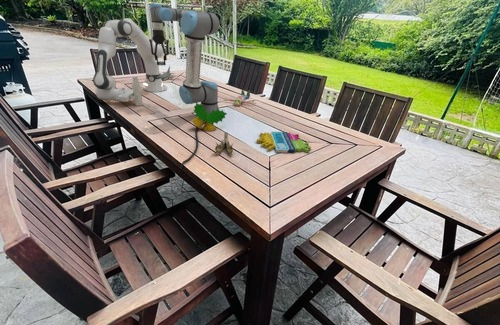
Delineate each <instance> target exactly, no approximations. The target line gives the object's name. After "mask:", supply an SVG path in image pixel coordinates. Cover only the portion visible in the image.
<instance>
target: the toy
mask: <svg viewBox="0 0 500 325" xmlns="http://www.w3.org/2000/svg"><path fill="white" fill-rule="evenodd" d="M240 92H241V93H240V95H238V96H237V97H235V99H233V98H230V99H228V98H227V97H226V96H225V97H224V98H223V101H224V102H233V103H232V104H233V105H235V106H242V103H243V104H247V105H252V106H255V105H256V104H257V103H256V102H254V101H253V100H252V101H251V102H250V101H248V100H246V99H248V98H250V97H251V90H250V89H249V90H248V91H247V92H246V93H245V91H244V89H242V90H241V91H240Z"/></svg>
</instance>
